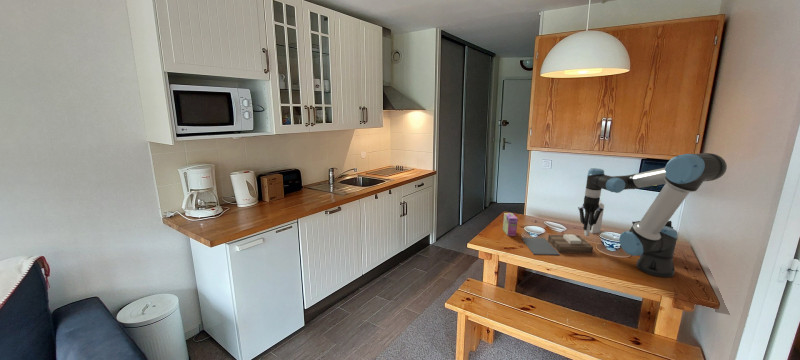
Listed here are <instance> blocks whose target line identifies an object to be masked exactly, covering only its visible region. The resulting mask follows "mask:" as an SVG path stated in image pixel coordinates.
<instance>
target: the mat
mask: <svg viewBox="0 0 800 360" xmlns="http://www.w3.org/2000/svg"><path fill="white" fill-rule="evenodd" d="M521 240H522V241H523V242H524V244H525V245H526V246H527V247H528V249H529V250H530V252H531V253H532V254H533V255H537V256H538V255H540V256H560V254H561V253H559V252H558V251H557V250H556V249H555V248H554V247H553V246H552V245H551V244H550V242H549V241H548V240H547V239H546V237H521Z"/></svg>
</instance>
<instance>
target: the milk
mask: <svg viewBox="0 0 800 360" xmlns="http://www.w3.org/2000/svg"><path fill="white" fill-rule="evenodd" d="M599 207H600V208H602V209H603V211H602V212H601V213H600V215H599V218H598V220H597V222H596V224H593V226H592V228H591V230H590V232H589V234H601V228H602V223H603V216H604V210H605V204H603V203H602V199H600V201H599ZM595 213H596V211H595ZM589 215H590V214H589ZM594 215H595V214H594ZM588 222H589V221H588ZM588 224H589V223H588Z"/></svg>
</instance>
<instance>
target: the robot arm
mask: <svg viewBox="0 0 800 360" xmlns="http://www.w3.org/2000/svg"><path fill="white" fill-rule="evenodd" d="M727 169H728V165H727V162H726V160H725V159H724V158H723V157H721V156H720V155H718V154H715V153H708V152H705V153H704V152H703V153H683V154H679V155H676V156H674V157H672V158H670V160H669V161H667V163H666V164H665V166H664V167H662V168H657V169H653V170H648V171H643V172H638V173H633V174H627V175H613V176H611V175H608V174H605V170H604V169H602V168H597V167H595V168H589V169H588V172H587V176H586V185H585V192H584V196H583V197H584V198H583V203H582V205H581V206H578V207H577V209H578V211H579V219H580V223H581V224H582V225H583V230H584V232H583V235H584V236H585V237H589V236H590V230H591V228H592V226H593V224H596V222H597V220H598V218H599V215H600V213H601V212H602V211H603V209H602V208H600V207H599V201H600V200H601V199H600V198H601V193H602V189H603V190H606V191H609V192H610V193H616V194H618V193H619V194H620V193H621V192H623V191H624V190H637V189H640V188H647V187H652V186H653V187H654V186H659V185H660V186H661V185H664V186H663V187H662V188H661V190H660V191H659V193H658V194H657V195H656V197H655V198H654V200H653V201H652V203H651V205H649V207H648V208H647V210H646V212H645V213H644V215H643V217H642V218H641V219H640V220H639V221H640V222H638V223H634V224H632V226H631V227H630V229H629V230H626V231H623V232H621V233H620V235H619V239H618V242H619V245H620V247H621V249H622V250H623V252H625V253H626V254H628V255H630V256H632V257H633V256H636V257H637V256H639V258H638V260H637V261H636V268H637V269H638V270H640V271H641V272H643V273H645V274H648V275H651V276H655V277H660V278H672V277H674V275H675V265H674V261H673V257H674V253H675V249H676V246H677V245H676V244H677V241H678V235H679V234H678V231H677V230H676V229H675V228H673V229H672V228H670V227H667V226H665V225H666V223H667V222H668V221H670V219H671V218H672V217H673V216H674V214H675V212H676V211H677V210H678V209H679V207H680V206H681V205H682V203H683V202H684V201H685V199H686V198H687V196H688V195H689V194H690V193H694V192H697V190H698V189H699V188H700V187H701V186H702V184H703V183H704V182H712V181H716V180H719V179H720V178H721V177H724V175H725V174H726V172H727ZM595 211H596V213H595ZM603 212H604V211H603ZM589 214H590V215H589ZM594 214H595V215H594ZM588 221H589V222H588ZM588 223H589V224H588Z"/></svg>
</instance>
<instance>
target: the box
mask: <svg viewBox="0 0 800 360" xmlns="http://www.w3.org/2000/svg"><path fill="white" fill-rule="evenodd" d="M518 219H519V218H518V217H517V216H516V215H515V214H514V213H513V212H504V213H503V222H502V230H503V232H504V233H505V234H506V236H509V237H510V236H511V237H514V236H515V237H516V236H517V230H518V222H519V221H518Z"/></svg>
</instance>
